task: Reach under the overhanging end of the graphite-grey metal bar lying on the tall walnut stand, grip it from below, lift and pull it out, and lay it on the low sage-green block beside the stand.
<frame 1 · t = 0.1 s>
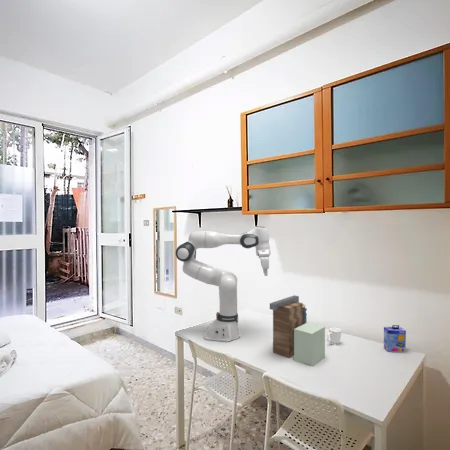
hand: (265, 274, 185), 39 cm above the table, tool pointing down, fingers open, 8 cm apart
walnut stand: (288, 351, 165), on the table
cup: (333, 344, 175), on the table
canister: (297, 326, 206), on the table
metal bar: (284, 305, 163), point 26 cm above the table, touching walnut stand
sage block: (309, 358, 156), on the table
ink cartridge box: (394, 350, 166), on the table
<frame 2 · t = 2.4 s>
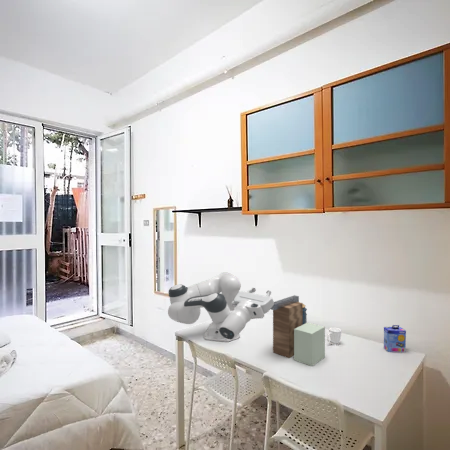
hand: (261, 290, 147), 38 cm above the table, tool pointing upward, fingers open, 8 cm apart
nothing on the table moved.
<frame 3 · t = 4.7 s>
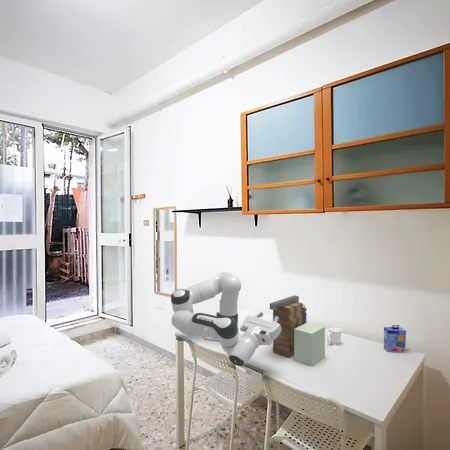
hand: (269, 315, 151), 24 cm above the table, tool pointing upward, fingers open, 8 cm apart
nothing on the table moved.
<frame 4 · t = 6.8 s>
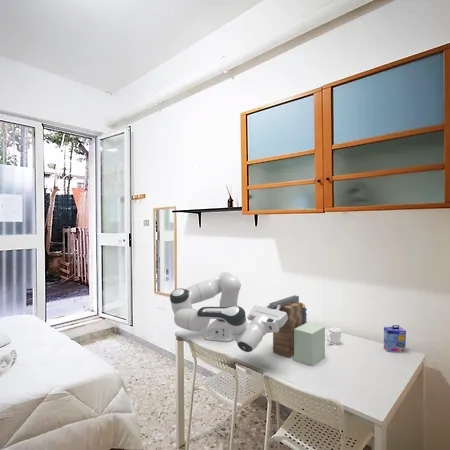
hand: (275, 304, 156), 28 cm above the table, tool pointing upward, fingers closed on metal bar, 3 cm apart
metal bar: (284, 305, 163), point 26 cm above the table, touching gripper, walnut stand
everything else where it was.
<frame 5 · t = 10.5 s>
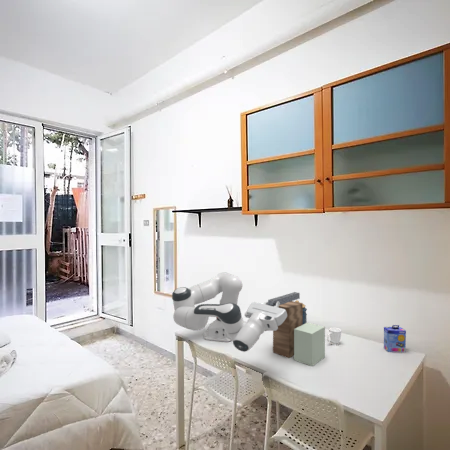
hand: (274, 301, 148), 32 cm above the table, tool pointing upward, fingers closed on metal bar, 3 cm apart
metal bar: (284, 302, 154), point 30 cm above the table, touching gripper
everything else where it was.
when the fingers open (19 cm above the table, at t = 14.2 s): metal bar drops 1 cm, resting on sage block.
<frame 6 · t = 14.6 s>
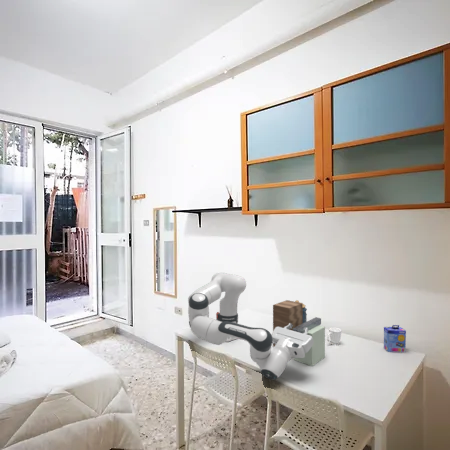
hand: (299, 326, 148), 19 cm above the table, tool pointing upward, fingers open, 7 cm apart
metal bar: (307, 328, 154), point 16 cm above the table, touching sage block
everything else where it was.
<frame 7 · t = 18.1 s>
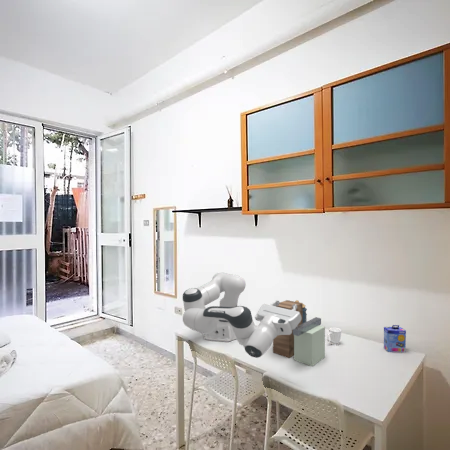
hand: (286, 303, 139), 33 cm above the table, tool pointing upward, fingers open, 8 cm apart
nothing on the table moved.
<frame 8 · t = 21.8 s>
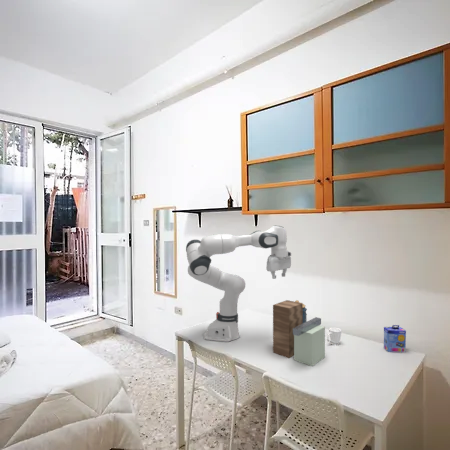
hand: (278, 277, 173), 39 cm above the table, tool pointing down, fingers open, 8 cm apart
nothing on the table moved.
at the end: metal bar inside the target area on the sage block (0.4 cm from its centre), point 16.0 cm above the sage block's base; metal bar tilted 0°; the gripper is holding nothing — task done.
